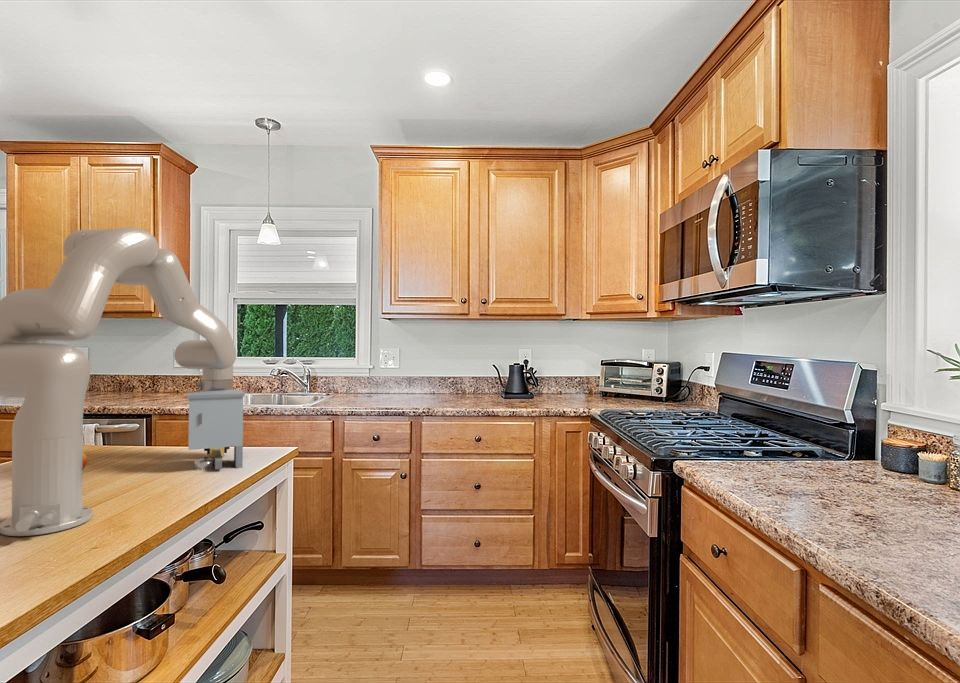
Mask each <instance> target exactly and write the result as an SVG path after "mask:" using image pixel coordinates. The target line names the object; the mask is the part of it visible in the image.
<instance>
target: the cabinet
mask: <svg viewBox="0 0 960 683" xmlns="http://www.w3.org/2000/svg"><path fill="white" fill-rule="evenodd" d="M187 392H188V393H187V400H188V447H187V450H188V451H191V450H192V451H193V450H195V451H196V450H204V449H208V448H220V447H230V448H232V447H233V453H234V454H233V462H235V463H234V466H235V468H236V469H238V468H237V467H241V468H243V460H244V459H243V458H244V456H243V454H244V453H243V451H244V450H243V449H244V442H243V441H244V440H243V438H244V427H243V424H244V397H245V396H246V393H245V392H244V390H243V389H238V390H237V389H236V390H235V389H233V390H230V391H202V390H199V391H187Z"/></svg>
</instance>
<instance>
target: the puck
mask: <svg viewBox="0 0 960 683" xmlns="http://www.w3.org/2000/svg"><path fill="white" fill-rule="evenodd" d="M193 467H194V468H195V469H194V470H196V469H199V470H198V471H201V470H202V469H203V470H204V469H205V470H210V468H211V469H213V467H214V468H215V459H214V457H201V458H197V459H195V460H194V466H193ZM203 470H202V471H203Z"/></svg>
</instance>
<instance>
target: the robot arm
mask: <svg viewBox="0 0 960 683" xmlns="http://www.w3.org/2000/svg"><path fill="white" fill-rule="evenodd" d="M62 247H63V248H62V249H63V253H64V256H65V258H64V260H63V262H62V264H61V265H60V267H59V270H58V272H56V275H55V277H54V279H53V281H52V282H51V284H50V286H48V287H46V288H25V289H18V290H14V291H12V292H9V293H8V294H6V295H5V296H3V297H2V298H1V299H0V398H1V397H2V398H24V400H23V403H22V404H21V406H20V407H19V409H18V411H17V412H16V415H15V416H14V419H13V422H12V428H11V438H12V440H11V442H12V443H11V447H12V448H11V450H12V451H11V516H10V517H8V518H6V519H5V520H3V521H2V522H1V523H0V534H2V535H4V536H9V537H28V536H39V535H46V534H51V533H56V532H60V531H65V530H68V529H72V528H75V527H78V526H80V525H83V524H85V523H86V522H88V521H89V520H90V519H92V518H93V515H94V514H93V513H94V510H93V509H92V508H91V507H89V506H86V505H83V471H82V460H83V453H84V452H83V440H84V439H83V438H84V431H83V426H84V406H85V405H84V404H85V399H86V394H87V390H88V386H89V382H90V377H91V370H92V369H91V364H90V361H89V359H88V357H87V355H86V354H84V352H82V350H80V349H78V348H76V347H74V346H71V345H66V344H62V343H47V342H46V343H42V342H41V341H53V342H54V341H55V342H56V341H57V342H58V341H59V342H62V341H63V342H71V341H82V340H85V339H87V338H89V337H91V336H92V335H93V334H94V333H95V331H96V329H97V327H98V326H99V323H100V320H101V318H102V315H103V313H104V309H105V307H106V304H107V302H108V299H109V297H110V294H111V291H112V289H113V287H114V284H115V283H116V284H119V285H126V286H144V287H145V288H146V289H147V291H148V293H149V295H150V297H151V299H152V301H153V303H154V306H156V309H157V311H158V313H159V315H160V316H161V317H162V318H163V319H164V320H166V321H168V322H170V323H172V324H175V325H177V326H180V327H181V328H185V329H188V330H190V331H192V332H195V333H197V334H198V335H200V336H201V337H202V338H204V339H201V340H199V339H191V340H190V339H189V340H185V341H182V342H181V343H179V344H178V345H177V346H176V347H175V350H174V354H173V355H174V356H173V357H174V360H175V362H176V364H177V365H178V366H180V367H181V368H185V369H188V370H189V369H190V370H201V371H202V373H201V374H202V378H201V379H202V380H201V381H197V382H196V383H195V387H196V388H201V391H230V390H234V379H233V378H234V364H235V362H236V358H237V350H236V349H237V348H236V346H235V343H234V340H233V338H232V335H231V332H230V331H229V329H228V327H227V326H226V324H225V323H224V322H223V321H222V320H221V319H220V318H218V316H216V315H215V314H214V313H213V312H211V310H208V309H207V308H206V307H205V306H204V305H202V304H200V303H199V302H198V300H197V298H196V296H195V293H194V292H193V289H192V287H191V285H190V281H189V279H188V277H187V275H186V273H185V270H184V268H183V266H182V264H181V262H180V259H179V258H178V256H177V255H176V254H175V253H174V252H172V250H171V251H170V250H168V249H166V248H165V249H164V248H159V243H158V241H157V238H156V237H155V236H154V235H153V234H151V233H150V232H148V231H147V230H143V229H141V228H136V227H119V228H111V229H80V230H78V229H77V230H76V231H73V232H71V233H69V234H68V236H67V237H65V239H64V241H63V246H62ZM244 427H245V424H244V423H243V428H244ZM230 448H231V447H224V454H227V453H228V450H230ZM203 451H204V452H206V455H210V448H208V449H203Z"/></svg>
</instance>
